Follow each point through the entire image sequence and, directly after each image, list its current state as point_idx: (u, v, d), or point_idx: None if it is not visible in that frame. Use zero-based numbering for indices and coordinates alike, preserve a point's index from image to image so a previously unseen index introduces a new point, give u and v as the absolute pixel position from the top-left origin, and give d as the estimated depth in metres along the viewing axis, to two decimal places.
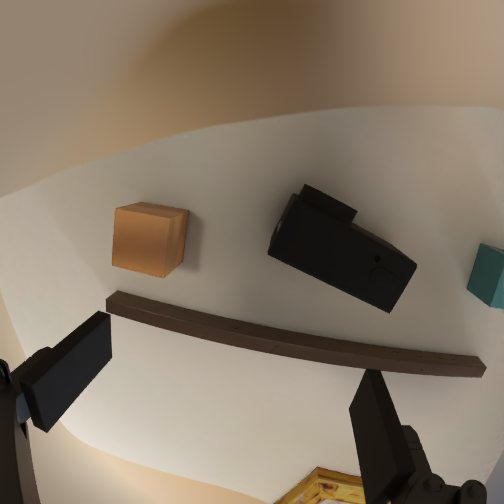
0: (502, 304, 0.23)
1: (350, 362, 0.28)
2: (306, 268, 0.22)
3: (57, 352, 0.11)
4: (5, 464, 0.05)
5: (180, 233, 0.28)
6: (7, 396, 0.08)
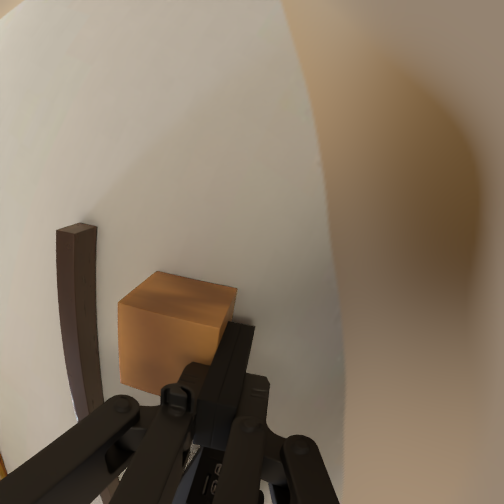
0: None
1: None
2: None
3: (219, 366, 0.13)
4: (146, 493, 0.06)
5: None
6: (181, 425, 0.09)
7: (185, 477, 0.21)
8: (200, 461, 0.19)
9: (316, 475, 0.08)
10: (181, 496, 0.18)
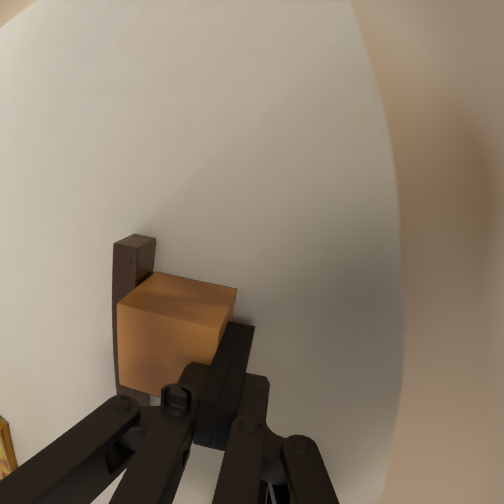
0: None
1: None
2: None
3: (219, 366, 0.13)
4: (146, 493, 0.06)
5: None
6: (181, 425, 0.09)
7: None
8: None
9: (316, 475, 0.08)
10: None
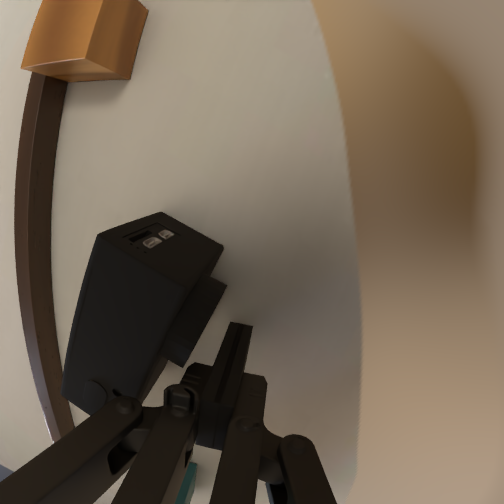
0: None
1: (27, 330, 0.19)
2: (85, 296, 0.12)
3: (222, 367, 0.13)
4: (148, 494, 0.06)
5: (91, 74, 0.15)
6: (184, 426, 0.09)
7: None
8: (142, 219, 0.15)
9: (313, 475, 0.08)
10: None
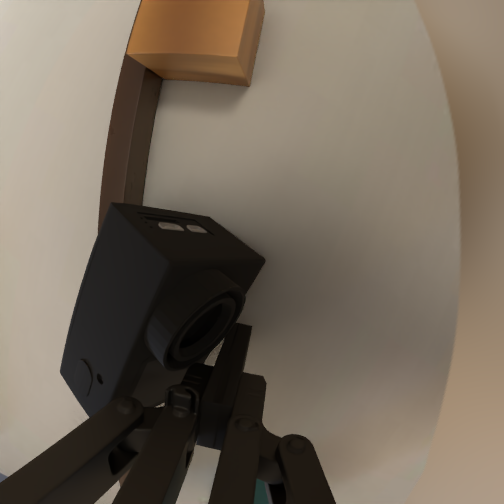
0: None
1: None
2: (91, 265, 0.12)
3: (223, 367, 0.13)
4: (149, 494, 0.06)
5: (209, 75, 0.14)
6: (185, 426, 0.09)
7: None
8: (177, 212, 0.15)
9: (312, 474, 0.08)
10: None
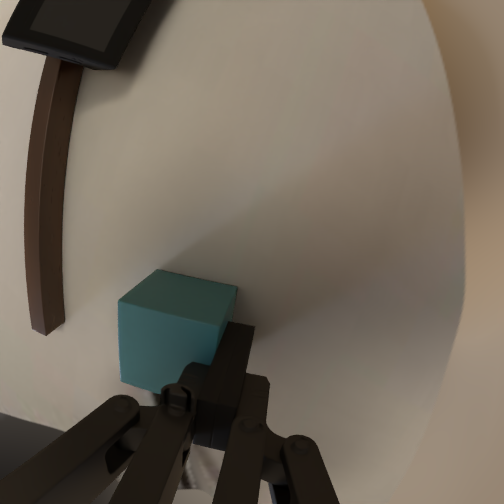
0: (125, 331, 0.14)
1: (47, 70, 0.14)
2: None
3: (219, 366, 0.13)
4: (146, 493, 0.06)
5: None
6: (181, 425, 0.09)
7: None
8: None
9: (316, 475, 0.08)
10: None
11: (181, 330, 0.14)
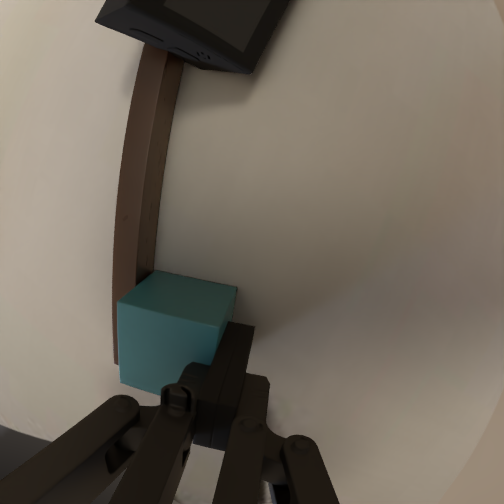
0: (124, 332, 0.14)
1: (148, 62, 0.13)
2: None
3: (219, 366, 0.13)
4: (146, 493, 0.06)
5: None
6: (181, 425, 0.09)
7: None
8: None
9: (316, 475, 0.08)
10: None
11: (180, 331, 0.14)
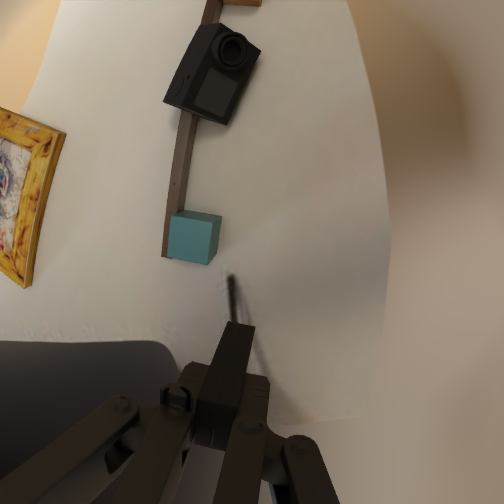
0: (173, 229, 0.36)
1: (184, 118, 0.35)
2: (190, 44, 0.30)
3: (219, 366, 0.13)
4: (145, 493, 0.06)
5: None
6: (180, 425, 0.09)
7: None
8: None
9: (316, 475, 0.08)
10: None
11: (197, 225, 0.36)
